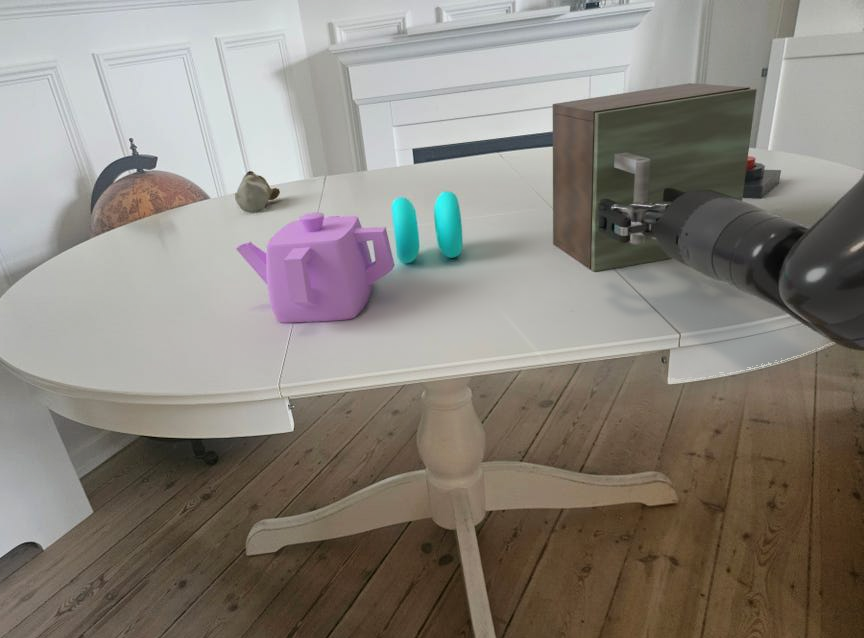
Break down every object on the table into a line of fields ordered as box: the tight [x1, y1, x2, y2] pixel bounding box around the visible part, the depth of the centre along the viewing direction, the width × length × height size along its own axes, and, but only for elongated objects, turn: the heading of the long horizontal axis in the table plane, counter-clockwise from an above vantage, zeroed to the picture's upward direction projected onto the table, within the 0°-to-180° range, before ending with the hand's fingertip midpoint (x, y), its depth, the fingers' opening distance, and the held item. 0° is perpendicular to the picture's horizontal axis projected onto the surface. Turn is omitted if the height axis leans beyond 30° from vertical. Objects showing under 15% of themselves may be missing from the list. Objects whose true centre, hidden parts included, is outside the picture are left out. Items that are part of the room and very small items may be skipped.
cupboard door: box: [591, 88, 758, 273], centre depth 78 cm, size 7×20×20 cm, turn 99°
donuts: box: [391, 190, 464, 264], centre depth 96 cm, size 10×10×10 cm
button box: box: [742, 162, 782, 200], centre depth 111 cm, size 12×10×4 cm
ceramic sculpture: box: [234, 170, 281, 213], centre depth 147 cm, size 11×9×15 cm
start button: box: [746, 155, 757, 169], centre depth 110 cm, size 4×4×2 cm
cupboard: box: [552, 82, 751, 271], centre depth 88 cm, size 13×20×20 cm, turn 99°
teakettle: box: [236, 211, 395, 324], centre depth 85 cm, size 17×17×12 cm
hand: (634, 201), depth 77 cm, fingers open, 7 cm apart
